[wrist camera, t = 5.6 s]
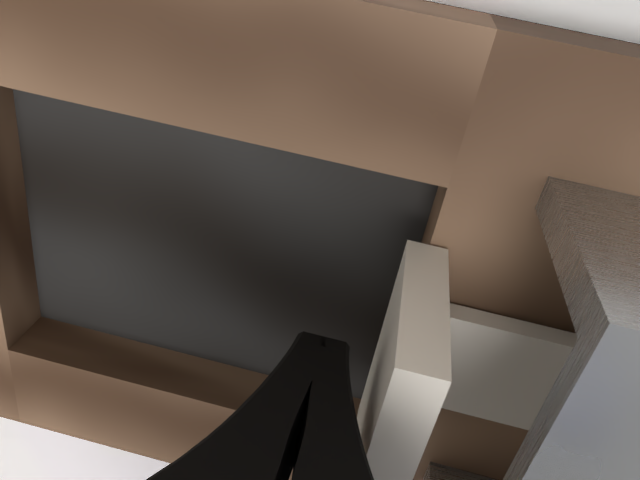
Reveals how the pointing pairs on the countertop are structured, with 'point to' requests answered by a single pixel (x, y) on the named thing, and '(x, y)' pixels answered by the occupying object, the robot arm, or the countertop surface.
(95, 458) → the countertop surface
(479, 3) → the countertop surface
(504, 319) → the slider
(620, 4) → the countertop surface
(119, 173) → the deck
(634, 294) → the tunnel
